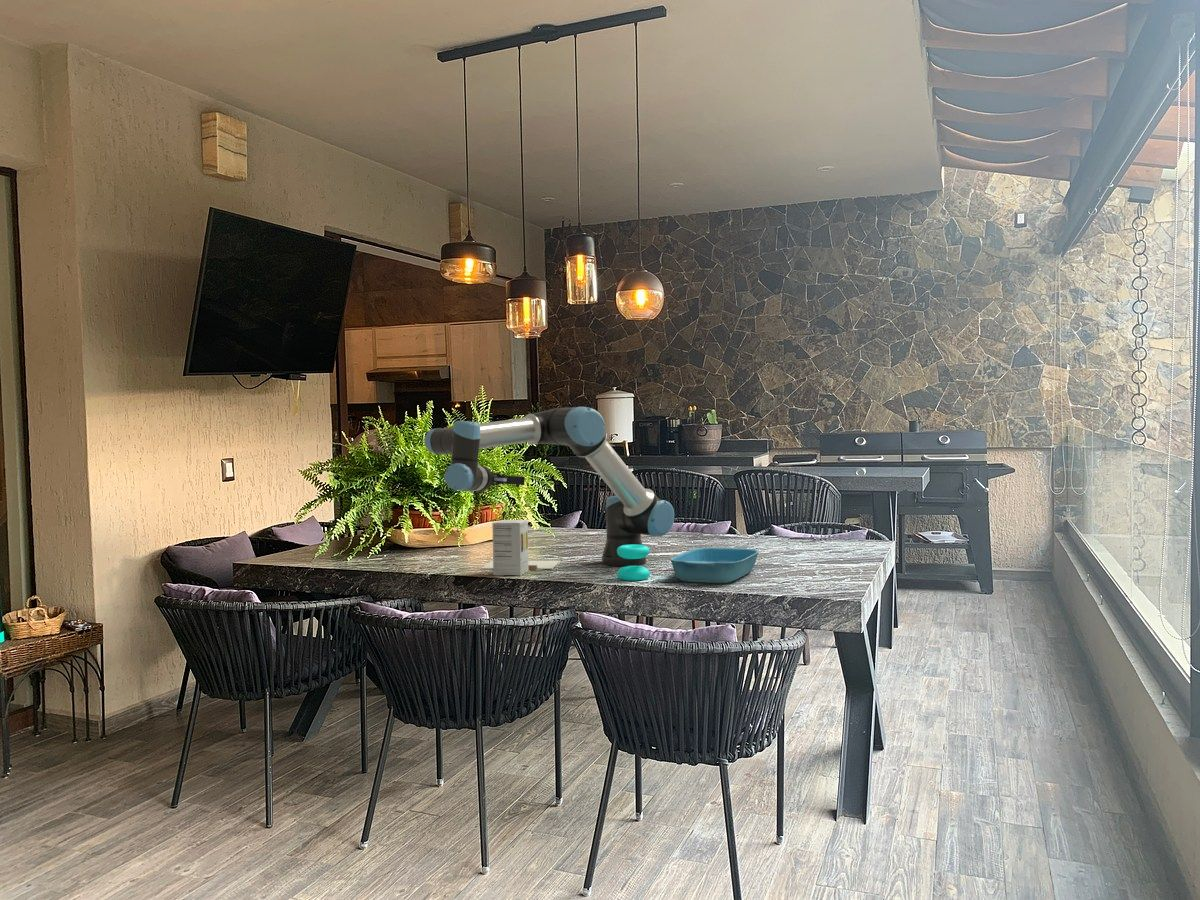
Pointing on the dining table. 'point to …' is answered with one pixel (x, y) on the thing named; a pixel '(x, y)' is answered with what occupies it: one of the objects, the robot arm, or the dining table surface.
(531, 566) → the mat
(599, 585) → the dining table surface
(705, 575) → the casserole dish
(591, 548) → the dining table surface
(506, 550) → the supplement box
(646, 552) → the donuts
